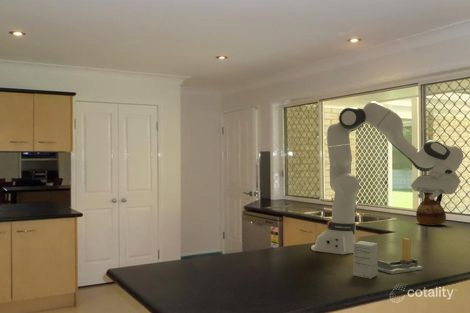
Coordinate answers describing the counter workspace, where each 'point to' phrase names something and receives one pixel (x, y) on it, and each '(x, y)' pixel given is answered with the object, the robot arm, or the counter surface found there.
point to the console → (398, 266)
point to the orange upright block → (406, 251)
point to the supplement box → (365, 259)
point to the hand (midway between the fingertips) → (425, 198)
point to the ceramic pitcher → (430, 211)
